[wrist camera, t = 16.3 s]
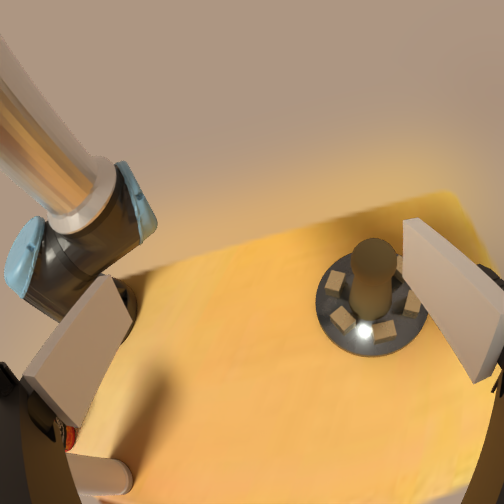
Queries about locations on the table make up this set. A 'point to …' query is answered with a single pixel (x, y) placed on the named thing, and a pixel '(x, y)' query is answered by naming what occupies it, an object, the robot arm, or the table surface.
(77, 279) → the robot arm
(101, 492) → the travel mug
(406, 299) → the ring holder
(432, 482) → the table surface
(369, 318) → the cork
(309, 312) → the table surface
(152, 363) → the table surface
